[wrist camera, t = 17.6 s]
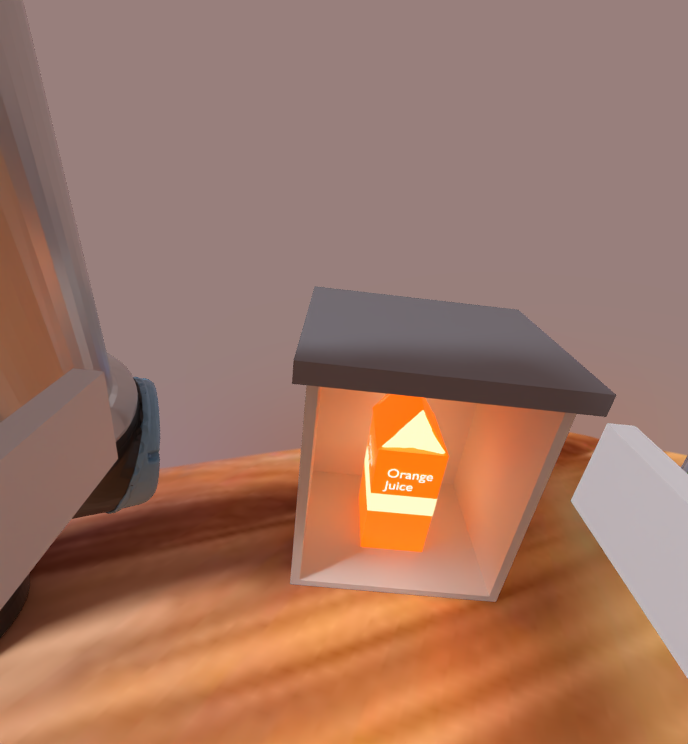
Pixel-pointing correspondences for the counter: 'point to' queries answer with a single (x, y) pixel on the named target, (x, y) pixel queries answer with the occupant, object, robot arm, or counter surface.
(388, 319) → the under-counter cabinet
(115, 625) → the counter surface
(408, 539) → the orange juice
